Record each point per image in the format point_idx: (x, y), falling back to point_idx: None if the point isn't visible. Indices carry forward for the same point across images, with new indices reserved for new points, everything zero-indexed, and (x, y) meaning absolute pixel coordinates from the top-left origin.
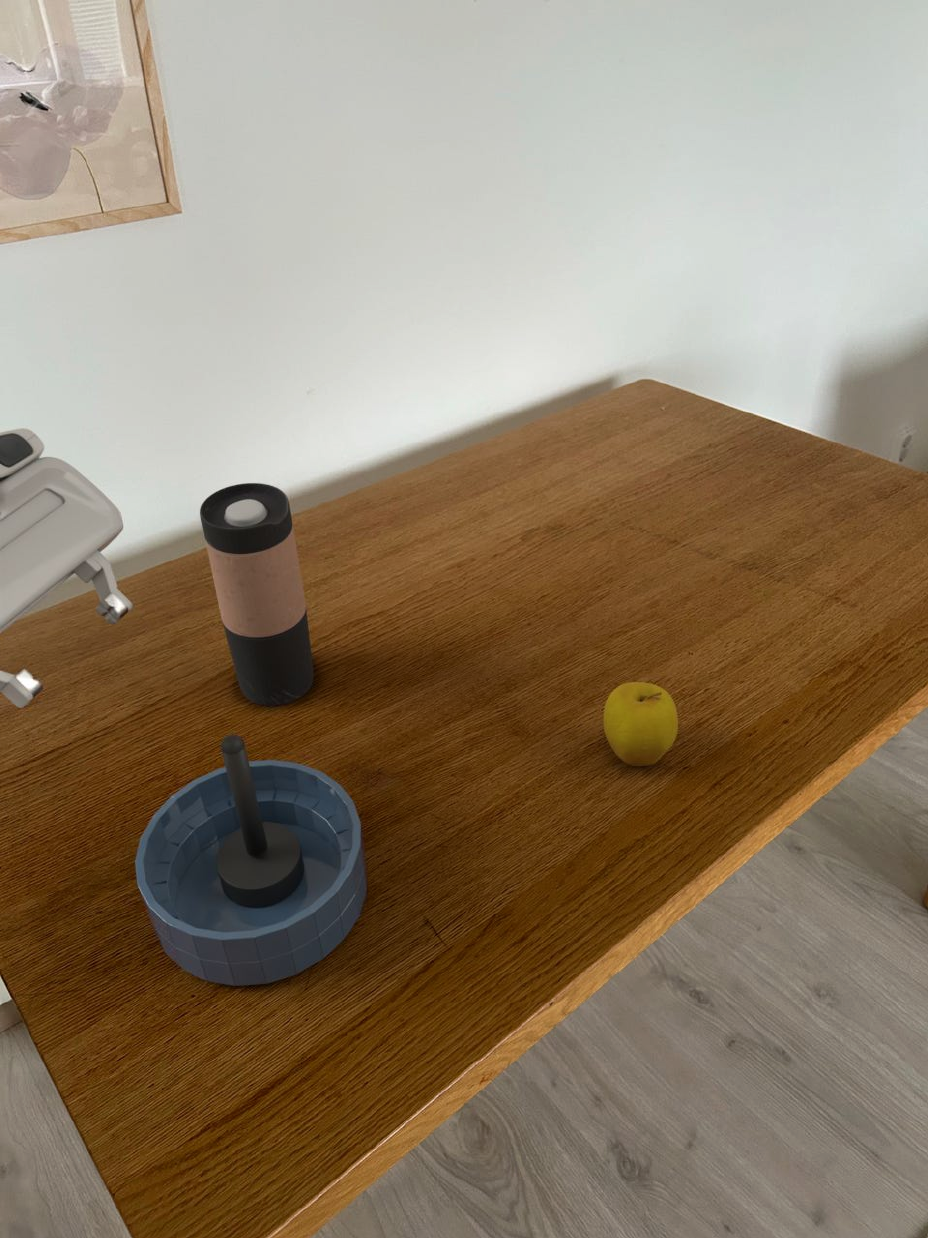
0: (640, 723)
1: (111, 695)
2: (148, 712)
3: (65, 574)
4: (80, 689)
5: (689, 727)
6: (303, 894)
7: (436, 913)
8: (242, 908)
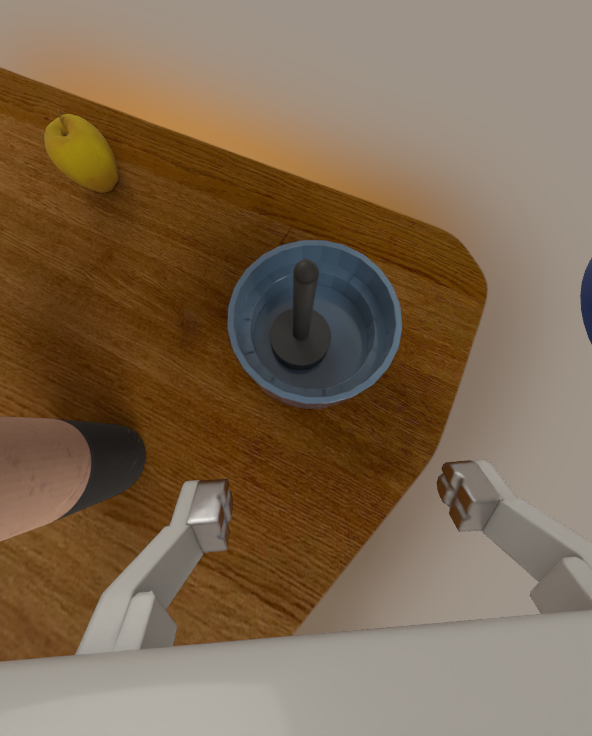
0: (91, 131)
1: (182, 606)
2: None
3: (242, 640)
4: None
5: None
6: None
7: (273, 241)
8: None
